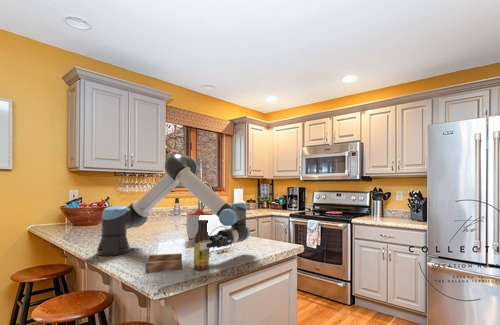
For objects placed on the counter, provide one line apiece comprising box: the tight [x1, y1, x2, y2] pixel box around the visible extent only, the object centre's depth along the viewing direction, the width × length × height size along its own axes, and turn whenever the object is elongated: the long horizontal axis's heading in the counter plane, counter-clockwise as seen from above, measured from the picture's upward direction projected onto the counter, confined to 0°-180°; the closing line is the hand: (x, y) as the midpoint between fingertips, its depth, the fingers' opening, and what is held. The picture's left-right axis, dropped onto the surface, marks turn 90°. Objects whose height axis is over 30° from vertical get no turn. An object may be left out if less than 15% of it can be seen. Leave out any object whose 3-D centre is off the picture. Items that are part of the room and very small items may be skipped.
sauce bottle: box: [193, 220, 210, 271], centre depth 119 cm, size 6×6×20 cm
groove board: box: [145, 252, 183, 273], centre depth 122 cm, size 14×13×3 cm
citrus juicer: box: [186, 208, 213, 241], centre depth 176 cm, size 16×17×20 cm
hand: (193, 245), depth 115 cm, fingers open, 7 cm apart
